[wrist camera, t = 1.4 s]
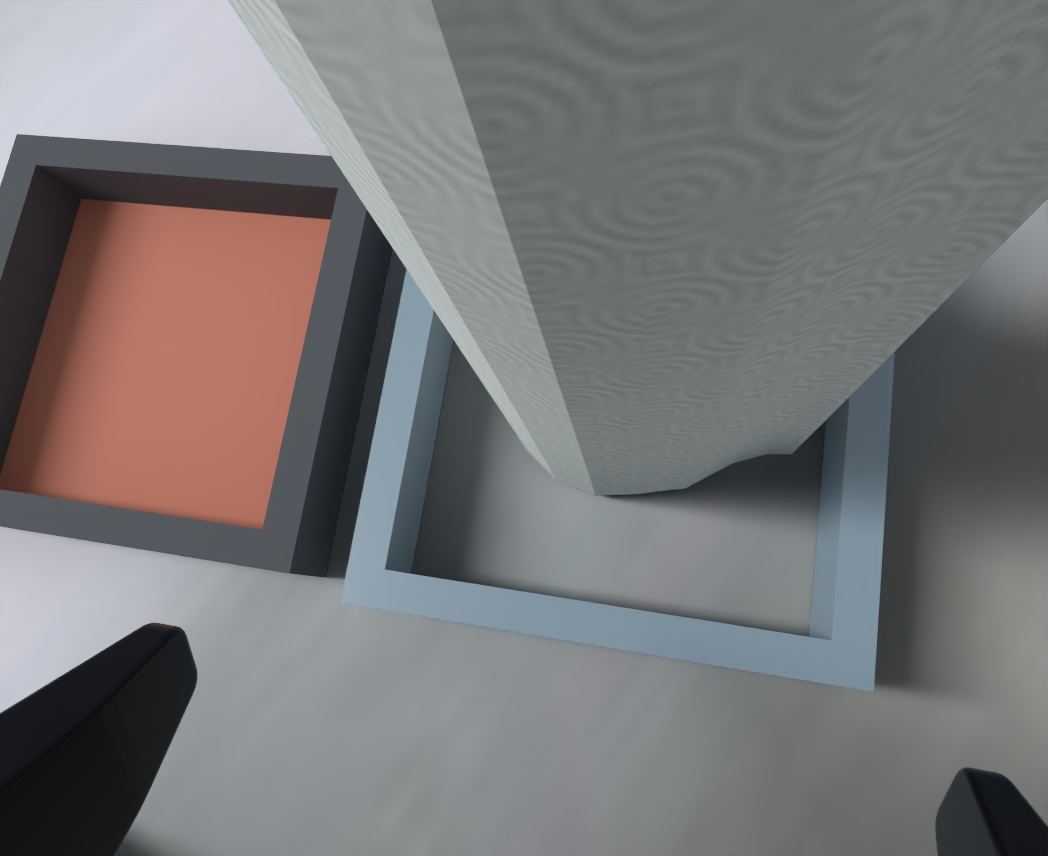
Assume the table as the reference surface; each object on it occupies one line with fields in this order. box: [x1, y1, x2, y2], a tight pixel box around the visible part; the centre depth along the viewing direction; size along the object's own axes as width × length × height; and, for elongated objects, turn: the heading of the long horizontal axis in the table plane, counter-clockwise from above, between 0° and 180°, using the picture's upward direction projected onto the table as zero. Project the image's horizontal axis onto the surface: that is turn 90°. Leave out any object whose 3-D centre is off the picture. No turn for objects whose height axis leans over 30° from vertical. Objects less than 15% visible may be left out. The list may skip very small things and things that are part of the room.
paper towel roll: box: [228, 0, 1048, 496], centre depth 13 cm, size 7×6×21 cm
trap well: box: [0, 134, 392, 577], centre depth 24 cm, size 12×12×2 cm
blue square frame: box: [340, 269, 895, 692], centre depth 22 cm, size 13×13×2 cm
